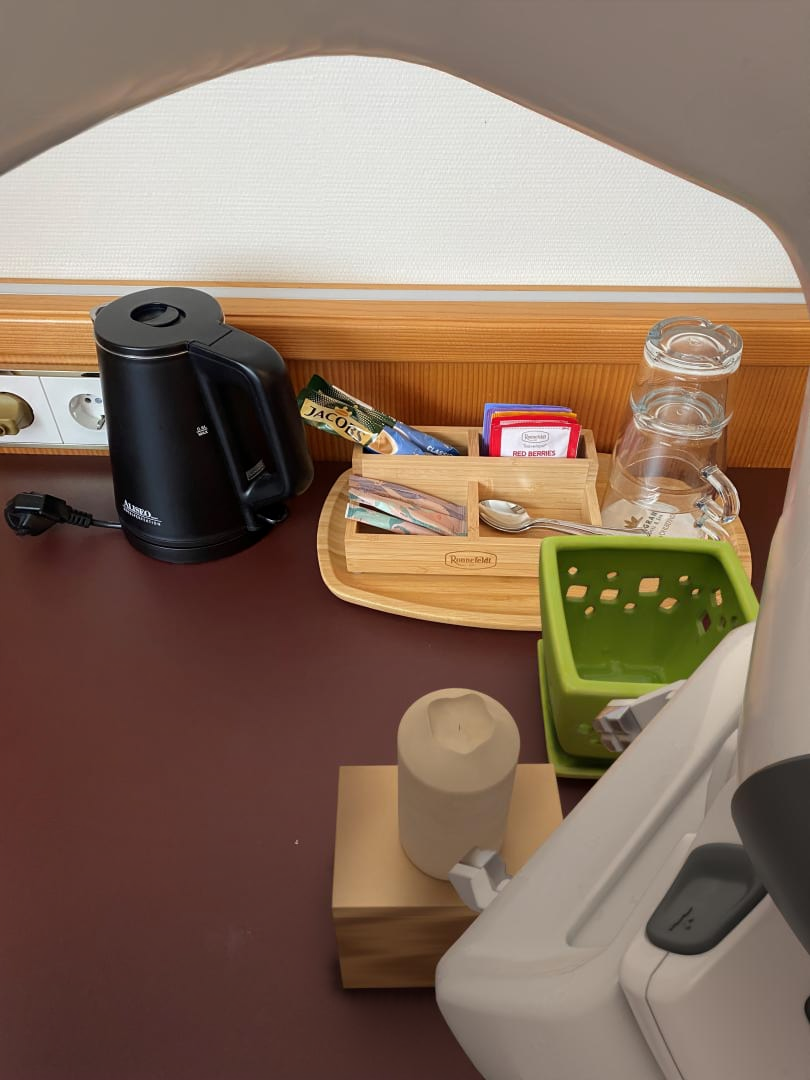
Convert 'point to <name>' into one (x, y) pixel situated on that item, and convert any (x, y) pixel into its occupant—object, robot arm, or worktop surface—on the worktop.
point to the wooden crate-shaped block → (412, 877)
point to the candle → (454, 777)
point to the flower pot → (626, 629)
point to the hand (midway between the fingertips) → (542, 795)
